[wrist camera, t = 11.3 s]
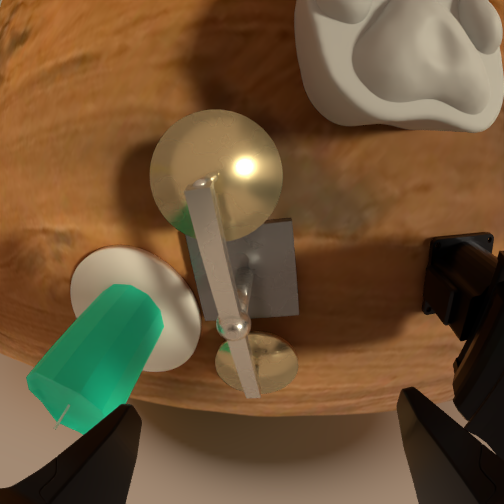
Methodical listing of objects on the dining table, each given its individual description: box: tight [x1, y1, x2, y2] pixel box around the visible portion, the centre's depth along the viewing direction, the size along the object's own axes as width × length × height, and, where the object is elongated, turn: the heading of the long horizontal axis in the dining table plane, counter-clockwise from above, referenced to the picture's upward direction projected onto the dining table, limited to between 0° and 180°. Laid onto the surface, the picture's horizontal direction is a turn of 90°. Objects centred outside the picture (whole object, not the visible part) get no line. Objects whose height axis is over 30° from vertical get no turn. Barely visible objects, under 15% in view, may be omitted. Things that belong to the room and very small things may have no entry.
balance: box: [150, 109, 299, 398], centre depth 17 cm, size 7×21×8 cm, turn 8°
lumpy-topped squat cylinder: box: [294, 0, 504, 133], centre depth 10 cm, size 10×13×9 cm
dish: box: [70, 245, 202, 372], centre depth 23 cm, size 12×12×1 cm
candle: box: [26, 284, 164, 435], centre depth 17 cm, size 6×6×12 cm
